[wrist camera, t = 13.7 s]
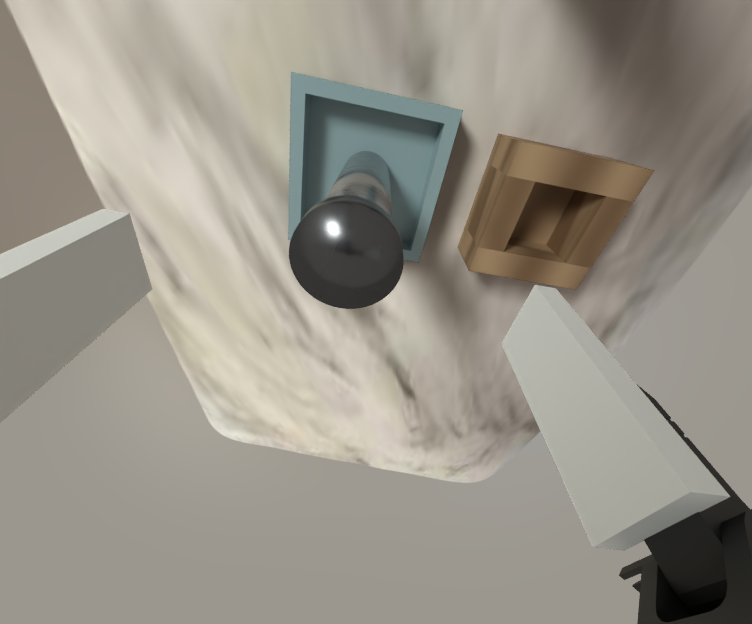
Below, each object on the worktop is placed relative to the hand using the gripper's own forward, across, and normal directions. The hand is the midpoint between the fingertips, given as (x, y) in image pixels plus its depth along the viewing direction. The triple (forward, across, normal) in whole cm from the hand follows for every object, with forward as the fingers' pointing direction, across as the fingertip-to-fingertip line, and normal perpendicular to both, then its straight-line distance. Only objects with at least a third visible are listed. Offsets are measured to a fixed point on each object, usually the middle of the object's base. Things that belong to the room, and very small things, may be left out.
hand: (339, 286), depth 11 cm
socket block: (+20, +15, -1) cm, 25 cm away
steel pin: (+19, 0, -1) cm, 19 cm away
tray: (+20, 0, -1) cm, 20 cm away
